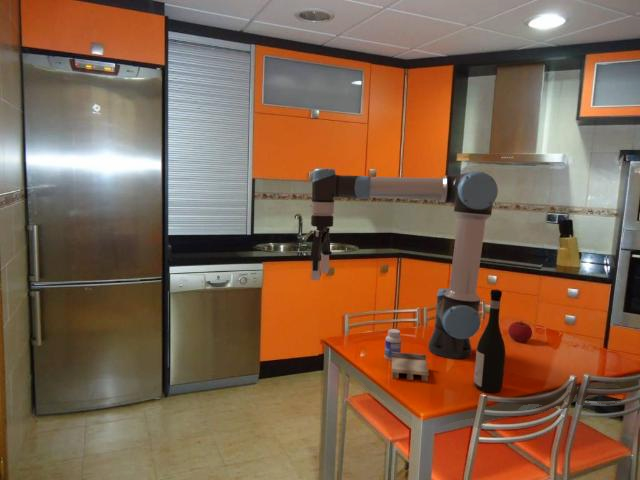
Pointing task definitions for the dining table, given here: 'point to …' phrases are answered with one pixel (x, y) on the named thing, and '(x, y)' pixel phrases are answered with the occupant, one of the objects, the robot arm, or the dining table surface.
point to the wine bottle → (491, 351)
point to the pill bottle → (392, 343)
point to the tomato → (520, 331)
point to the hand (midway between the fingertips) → (320, 276)
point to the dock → (409, 365)
